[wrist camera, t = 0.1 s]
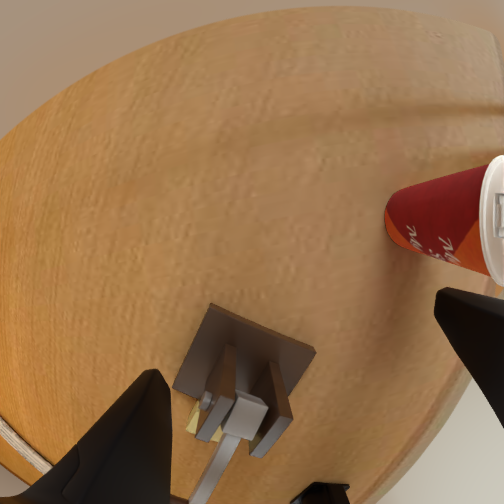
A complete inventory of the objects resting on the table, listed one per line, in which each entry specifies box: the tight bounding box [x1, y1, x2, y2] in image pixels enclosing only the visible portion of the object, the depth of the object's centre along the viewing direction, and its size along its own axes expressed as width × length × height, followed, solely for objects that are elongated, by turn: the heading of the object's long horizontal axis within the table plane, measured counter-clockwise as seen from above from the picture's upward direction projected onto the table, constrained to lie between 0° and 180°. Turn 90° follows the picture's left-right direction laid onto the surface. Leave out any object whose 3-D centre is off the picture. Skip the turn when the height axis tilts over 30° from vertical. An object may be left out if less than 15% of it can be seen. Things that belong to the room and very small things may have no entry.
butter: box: [186, 399, 223, 442], centre depth 23 cm, size 3×4×2 cm
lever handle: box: [170, 389, 268, 504], centre depth 15 cm, size 12×6×2 cm, turn 153°
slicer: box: [172, 303, 316, 458], centre depth 19 cm, size 9×10×9 cm
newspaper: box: [0, 417, 53, 474], centre depth 24 cm, size 24×7×2 cm, turn 49°
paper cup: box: [385, 155, 504, 287], centre depth 16 cm, size 8×8×14 cm
